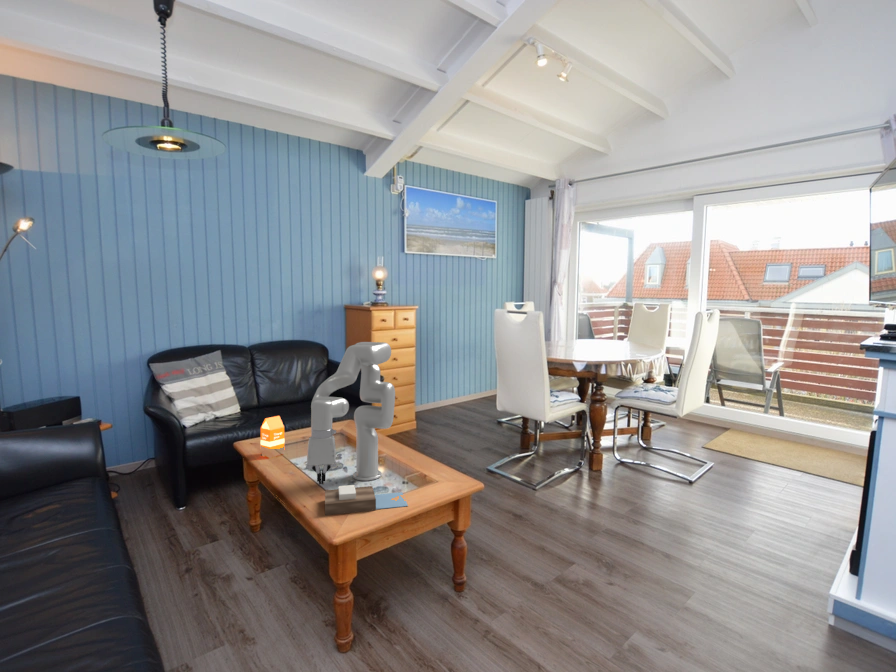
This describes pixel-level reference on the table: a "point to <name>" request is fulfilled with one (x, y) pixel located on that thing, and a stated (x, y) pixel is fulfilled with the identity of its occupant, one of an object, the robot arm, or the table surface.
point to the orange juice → (272, 433)
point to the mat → (389, 501)
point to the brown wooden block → (350, 501)
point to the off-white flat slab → (347, 492)
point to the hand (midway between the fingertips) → (321, 483)
